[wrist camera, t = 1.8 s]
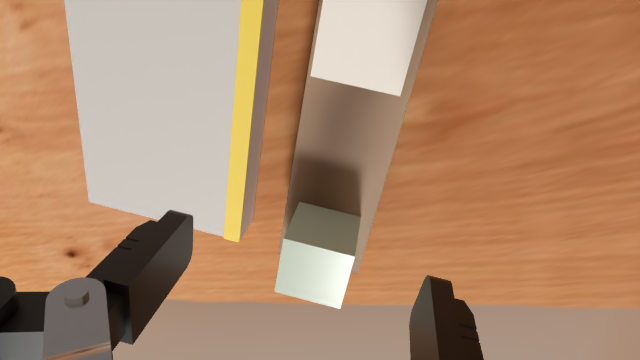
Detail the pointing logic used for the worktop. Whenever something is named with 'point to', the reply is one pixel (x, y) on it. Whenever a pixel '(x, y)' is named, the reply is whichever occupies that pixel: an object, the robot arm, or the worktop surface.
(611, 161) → the worktop surface
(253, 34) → the block
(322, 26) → the white crate
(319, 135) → the pallet
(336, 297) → the block
